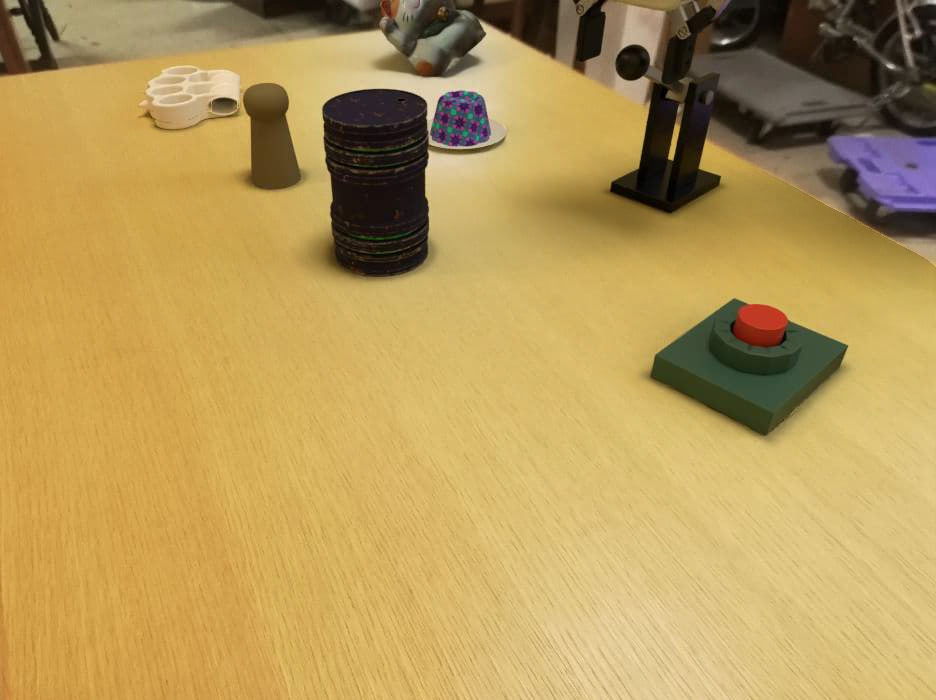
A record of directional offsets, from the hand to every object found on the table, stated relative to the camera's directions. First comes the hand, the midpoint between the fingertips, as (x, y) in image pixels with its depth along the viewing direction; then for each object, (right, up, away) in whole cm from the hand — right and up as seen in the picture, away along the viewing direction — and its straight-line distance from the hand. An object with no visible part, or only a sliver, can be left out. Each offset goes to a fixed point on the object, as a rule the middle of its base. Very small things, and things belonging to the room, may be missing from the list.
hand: (629, 69), depth 75 cm
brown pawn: (-37, -5, +21) cm, 43 cm away
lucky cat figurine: (-16, +23, +53) cm, 61 cm away
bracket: (+9, -7, +15) cm, 19 cm away
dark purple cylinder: (-24, -16, +6) cm, 30 cm away
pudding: (-14, +3, +29) cm, 33 cm away
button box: (+6, -29, -11) cm, 32 cm away
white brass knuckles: (-53, +12, +41) cm, 68 cm away
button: (+6, -27, -13) cm, 30 cm away
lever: (+4, -1, +4) cm, 6 cm away
